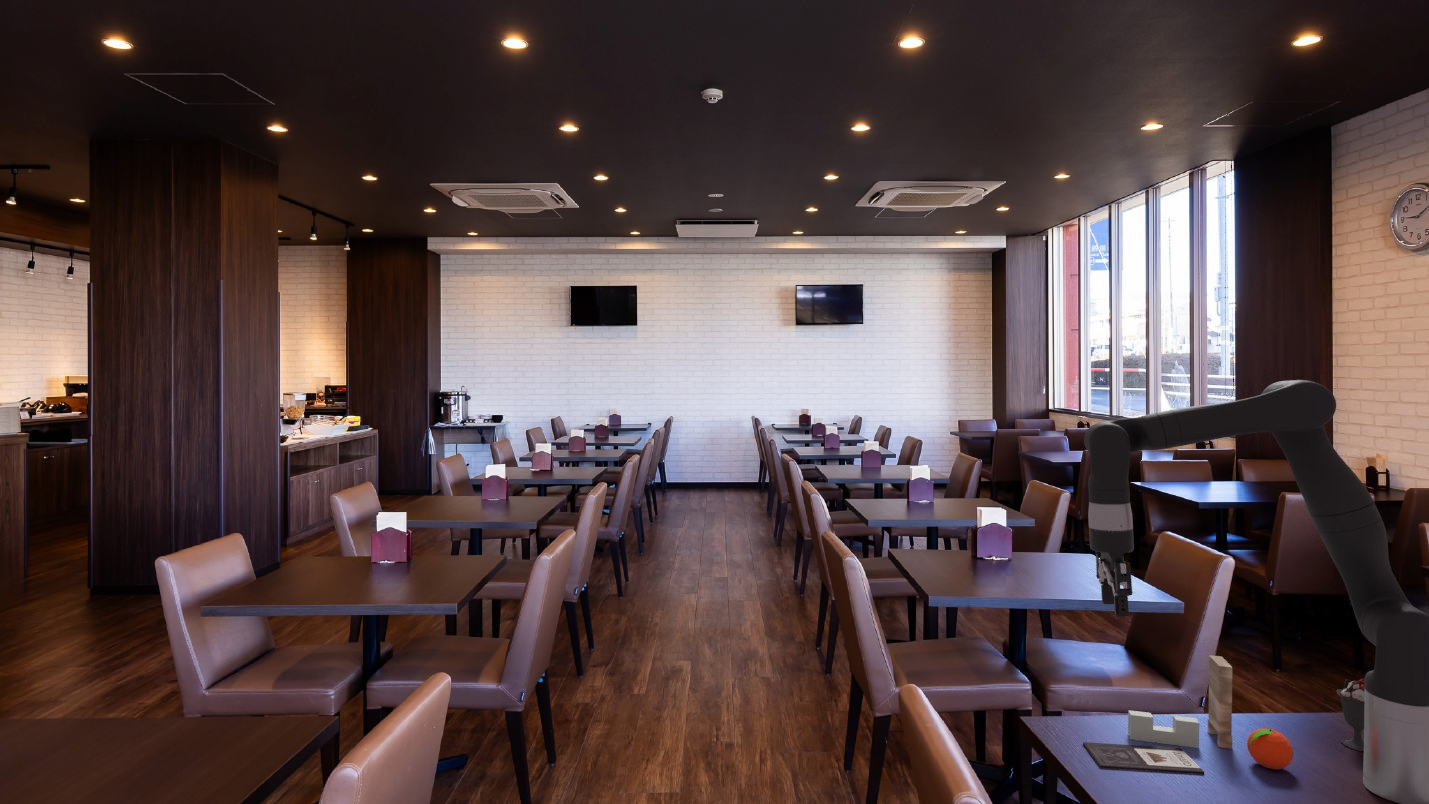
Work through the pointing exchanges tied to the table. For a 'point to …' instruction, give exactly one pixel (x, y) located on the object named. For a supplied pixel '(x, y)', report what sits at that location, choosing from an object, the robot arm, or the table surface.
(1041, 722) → the table surface
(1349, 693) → the sundae
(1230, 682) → the tapered block
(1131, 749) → the chocolate bar
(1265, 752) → the clementine
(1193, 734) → the slotted rail
